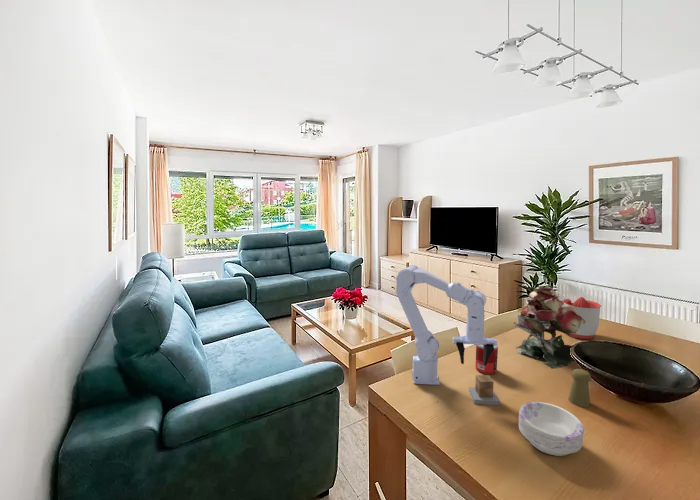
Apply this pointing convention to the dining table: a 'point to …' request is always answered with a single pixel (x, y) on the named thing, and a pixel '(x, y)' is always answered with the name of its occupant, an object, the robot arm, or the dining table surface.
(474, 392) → the slate slab
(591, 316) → the citrus juicer
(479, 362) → the canned food
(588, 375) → the olive green pawn
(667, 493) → the dining table surface
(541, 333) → the rose bouquet
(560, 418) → the paper bowls
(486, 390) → the walnut block
